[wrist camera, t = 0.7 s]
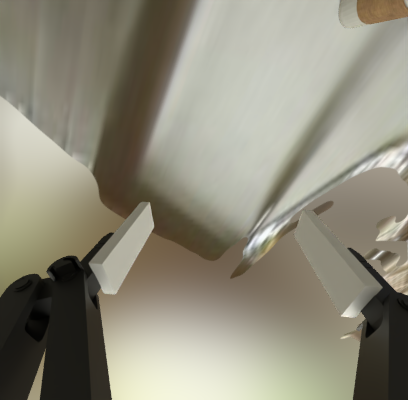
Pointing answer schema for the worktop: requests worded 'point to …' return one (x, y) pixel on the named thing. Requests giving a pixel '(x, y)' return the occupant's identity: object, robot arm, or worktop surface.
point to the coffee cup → (370, 11)
